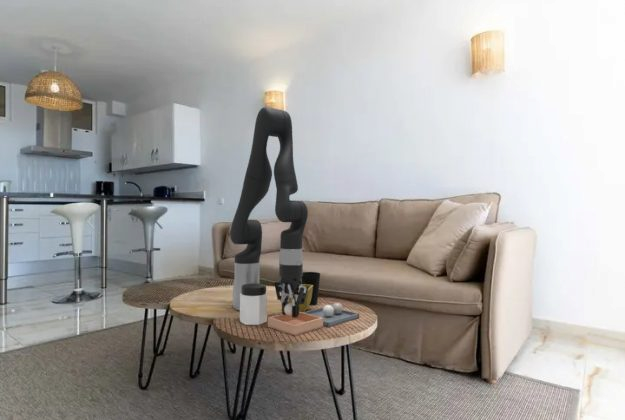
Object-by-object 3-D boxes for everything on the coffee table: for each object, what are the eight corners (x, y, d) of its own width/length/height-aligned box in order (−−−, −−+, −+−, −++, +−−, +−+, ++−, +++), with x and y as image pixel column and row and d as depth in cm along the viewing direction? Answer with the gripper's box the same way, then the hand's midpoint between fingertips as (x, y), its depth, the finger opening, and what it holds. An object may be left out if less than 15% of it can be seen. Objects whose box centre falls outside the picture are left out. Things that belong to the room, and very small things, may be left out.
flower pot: (308, 314, 141) (308, 289, 141) (284, 313, 143) (284, 288, 143) (313, 308, 150) (313, 284, 150) (290, 307, 152) (290, 283, 151)
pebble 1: (319, 316, 137) (320, 304, 137) (327, 314, 140) (327, 303, 140) (328, 318, 134) (328, 307, 134) (336, 316, 137) (336, 305, 137)
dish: (267, 326, 126) (268, 317, 126) (296, 319, 135) (296, 310, 135) (294, 336, 117) (294, 325, 117) (323, 327, 126) (323, 318, 126)
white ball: (281, 315, 128) (281, 303, 127) (290, 313, 130) (290, 301, 130) (289, 318, 125) (290, 305, 125) (298, 315, 128) (299, 303, 128)
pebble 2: (329, 313, 140) (329, 302, 140) (336, 312, 143) (336, 300, 143) (337, 316, 138) (338, 304, 138) (345, 314, 140) (345, 302, 140)
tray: (296, 318, 136) (296, 313, 136) (328, 310, 148) (328, 306, 148) (327, 327, 126) (328, 322, 126) (359, 317, 138) (359, 313, 138)
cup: (319, 306, 154) (320, 275, 154) (300, 305, 154) (300, 274, 154) (319, 301, 161) (320, 272, 161) (301, 301, 162) (301, 271, 162)
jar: (270, 323, 130) (271, 286, 130) (247, 327, 125) (247, 289, 125) (259, 316, 137) (259, 282, 137) (236, 320, 133) (237, 284, 133)
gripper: (267, 261, 130) (267, 313, 130) (297, 265, 120) (297, 322, 120) (284, 259, 135) (284, 309, 135) (315, 263, 125) (314, 318, 125)
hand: (290, 315), depth 128 cm, fingers closed on white ball, 4 cm apart
